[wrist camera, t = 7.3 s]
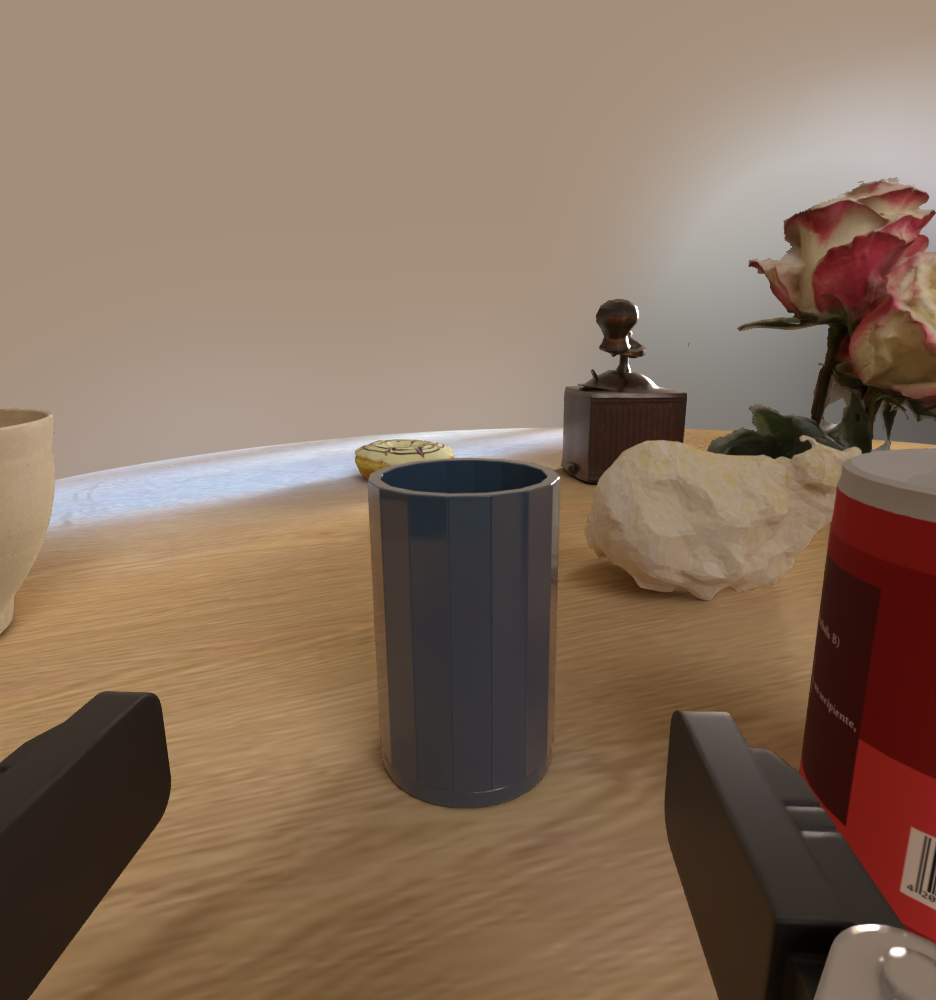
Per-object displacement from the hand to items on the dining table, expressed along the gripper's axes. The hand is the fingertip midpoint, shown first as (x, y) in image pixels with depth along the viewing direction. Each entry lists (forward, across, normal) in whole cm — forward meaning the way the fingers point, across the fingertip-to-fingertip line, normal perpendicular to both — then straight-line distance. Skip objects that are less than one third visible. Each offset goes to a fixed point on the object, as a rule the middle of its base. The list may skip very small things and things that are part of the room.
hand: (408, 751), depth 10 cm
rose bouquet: (+64, -41, +8) cm, 76 cm away
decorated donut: (+59, +10, +8) cm, 60 cm away
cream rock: (+29, -14, +8) cm, 33 cm away
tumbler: (+11, 0, +8) cm, 14 cm away
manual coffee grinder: (+58, -14, +8) cm, 60 cm away
